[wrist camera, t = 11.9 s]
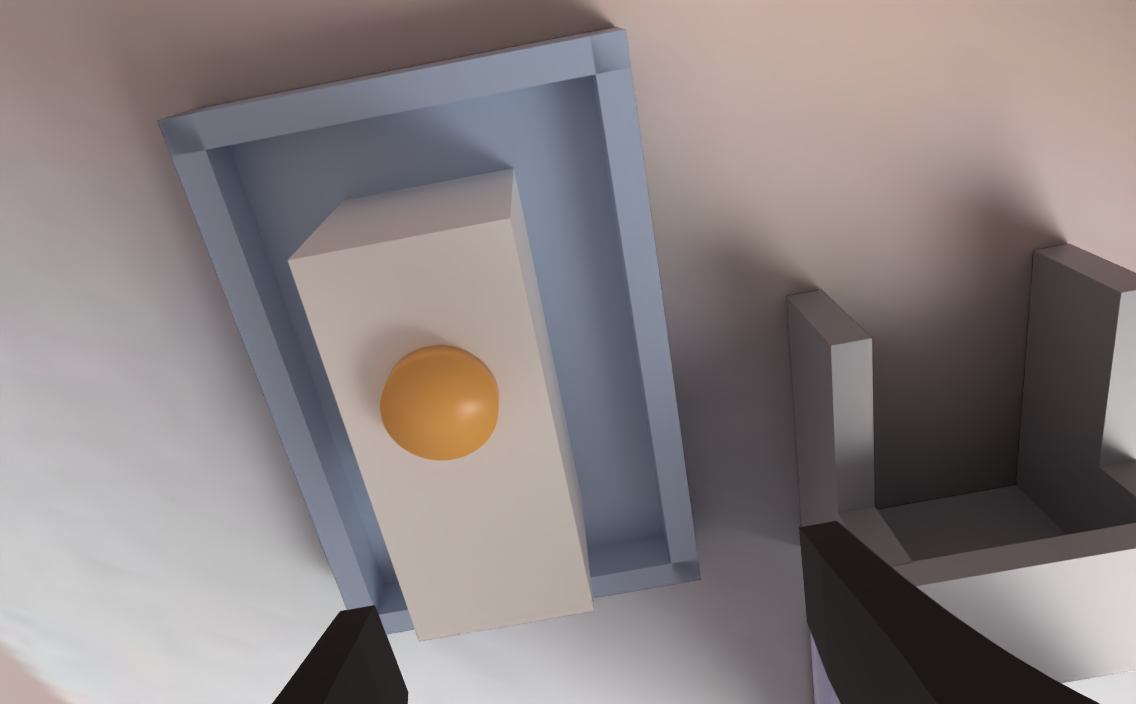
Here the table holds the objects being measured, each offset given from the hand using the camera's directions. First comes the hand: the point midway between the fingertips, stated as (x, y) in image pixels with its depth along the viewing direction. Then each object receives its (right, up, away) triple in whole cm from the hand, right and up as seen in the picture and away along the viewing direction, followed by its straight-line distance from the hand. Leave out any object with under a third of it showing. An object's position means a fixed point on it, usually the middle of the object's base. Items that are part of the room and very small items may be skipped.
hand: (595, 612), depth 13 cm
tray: (-3, +4, +9) cm, 11 cm away
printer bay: (+10, +3, +11) cm, 15 cm away
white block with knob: (-3, +4, +9) cm, 10 cm away
